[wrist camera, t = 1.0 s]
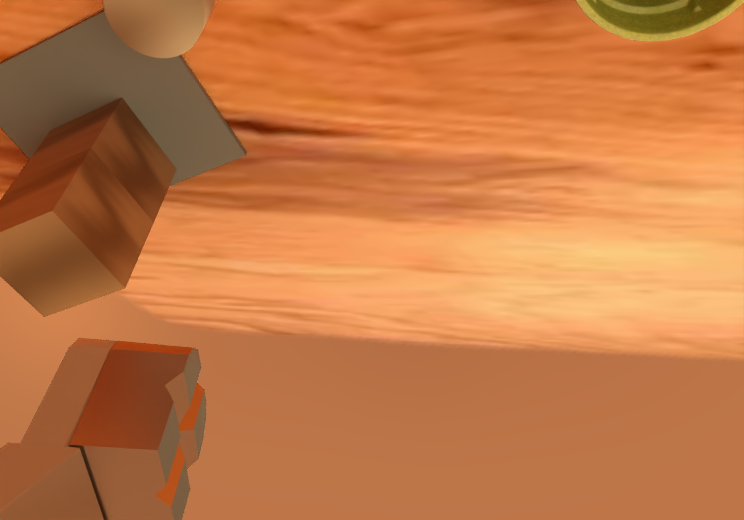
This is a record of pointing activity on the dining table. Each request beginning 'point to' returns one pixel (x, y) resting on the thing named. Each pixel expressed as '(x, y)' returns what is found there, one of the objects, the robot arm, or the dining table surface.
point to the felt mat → (113, 95)
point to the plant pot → (656, 16)
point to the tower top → (69, 234)
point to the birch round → (159, 24)
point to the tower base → (112, 152)
